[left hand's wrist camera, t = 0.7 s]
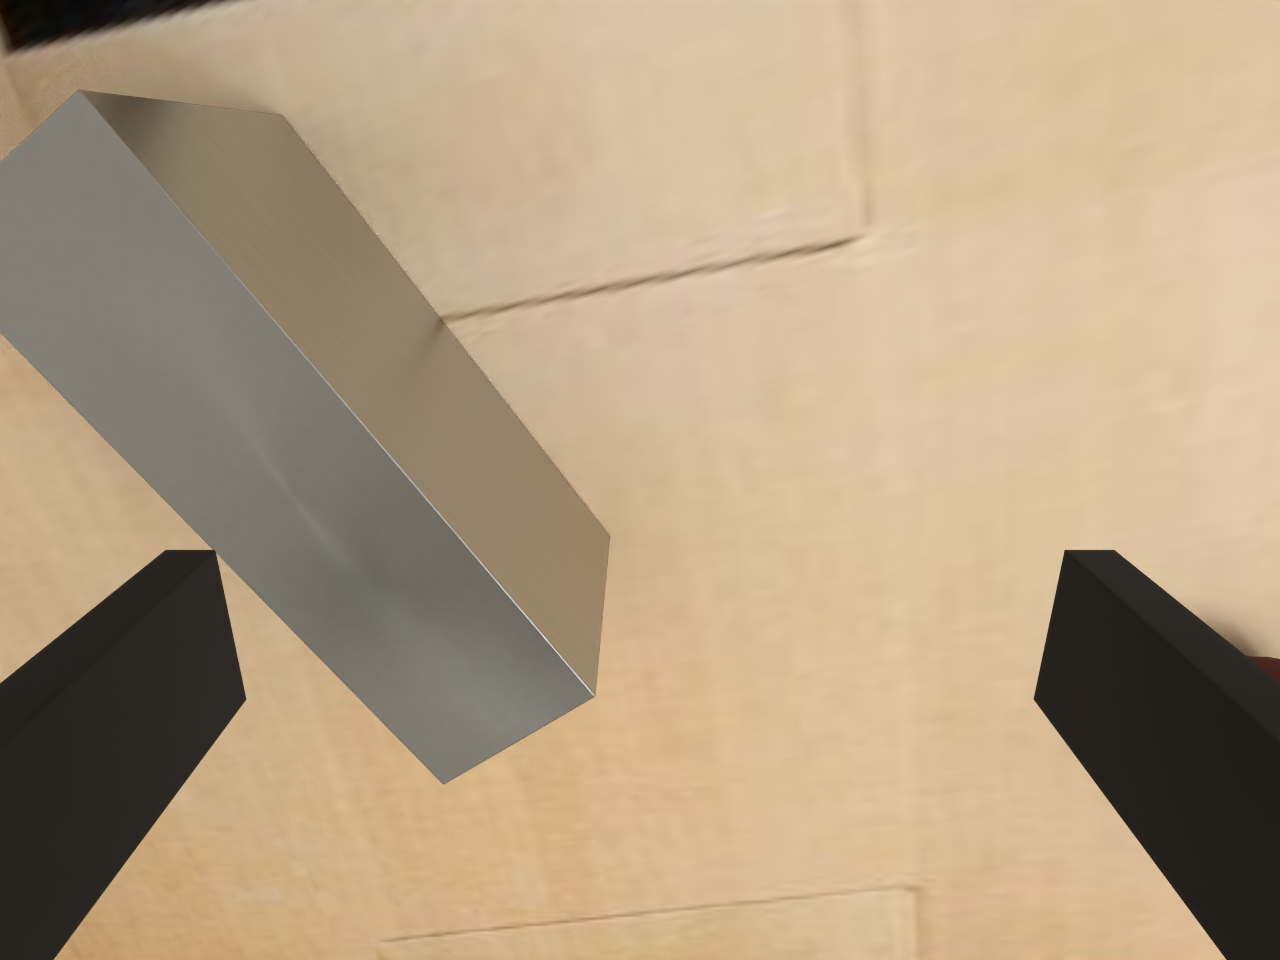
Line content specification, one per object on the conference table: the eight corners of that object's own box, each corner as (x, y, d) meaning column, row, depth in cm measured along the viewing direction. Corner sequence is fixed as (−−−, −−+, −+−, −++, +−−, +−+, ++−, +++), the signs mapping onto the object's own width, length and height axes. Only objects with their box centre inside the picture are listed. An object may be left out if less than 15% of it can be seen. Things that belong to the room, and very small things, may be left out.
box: (165, 214, 33) (-89, 243, 22) (282, 114, 32) (78, 88, 20) (501, 605, 40) (443, 785, 29) (610, 536, 39) (596, 696, 27)
